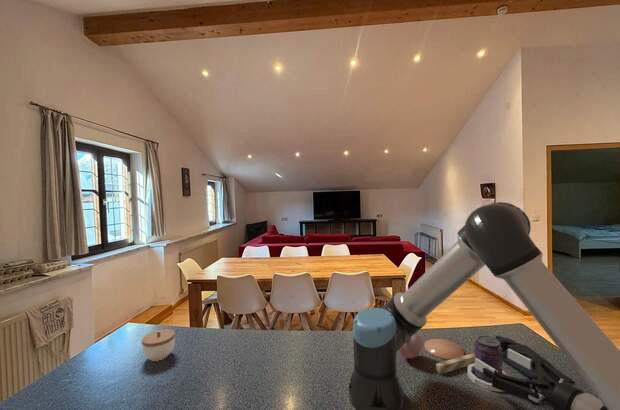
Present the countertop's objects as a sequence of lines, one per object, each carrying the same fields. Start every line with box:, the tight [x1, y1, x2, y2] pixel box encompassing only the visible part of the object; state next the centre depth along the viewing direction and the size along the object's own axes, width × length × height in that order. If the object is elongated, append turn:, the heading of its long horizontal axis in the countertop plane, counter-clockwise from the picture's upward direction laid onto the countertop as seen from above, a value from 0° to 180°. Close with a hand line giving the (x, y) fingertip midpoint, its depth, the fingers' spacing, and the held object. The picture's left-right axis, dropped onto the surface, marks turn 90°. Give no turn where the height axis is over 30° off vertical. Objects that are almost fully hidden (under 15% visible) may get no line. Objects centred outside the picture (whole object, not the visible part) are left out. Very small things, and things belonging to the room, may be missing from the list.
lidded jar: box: [141, 328, 176, 362], centre depth 102 cm, size 11×11×9 cm
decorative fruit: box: [398, 332, 423, 360], centre depth 97 cm, size 9×8×10 cm
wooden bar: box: [435, 352, 475, 375], centre depth 92 cm, size 18×2×2 cm, turn 110°
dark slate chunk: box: [494, 335, 575, 383], centre depth 93 cm, size 15×22×5 cm
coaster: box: [424, 338, 465, 361], centre depth 102 cm, size 13×13×1 cm
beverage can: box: [474, 334, 503, 383], centre depth 85 cm, size 7×7×12 cm
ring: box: [466, 363, 510, 393], centre depth 85 cm, size 11×12×2 cm
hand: (492, 357), depth 84 cm, fingers open, 13 cm apart
